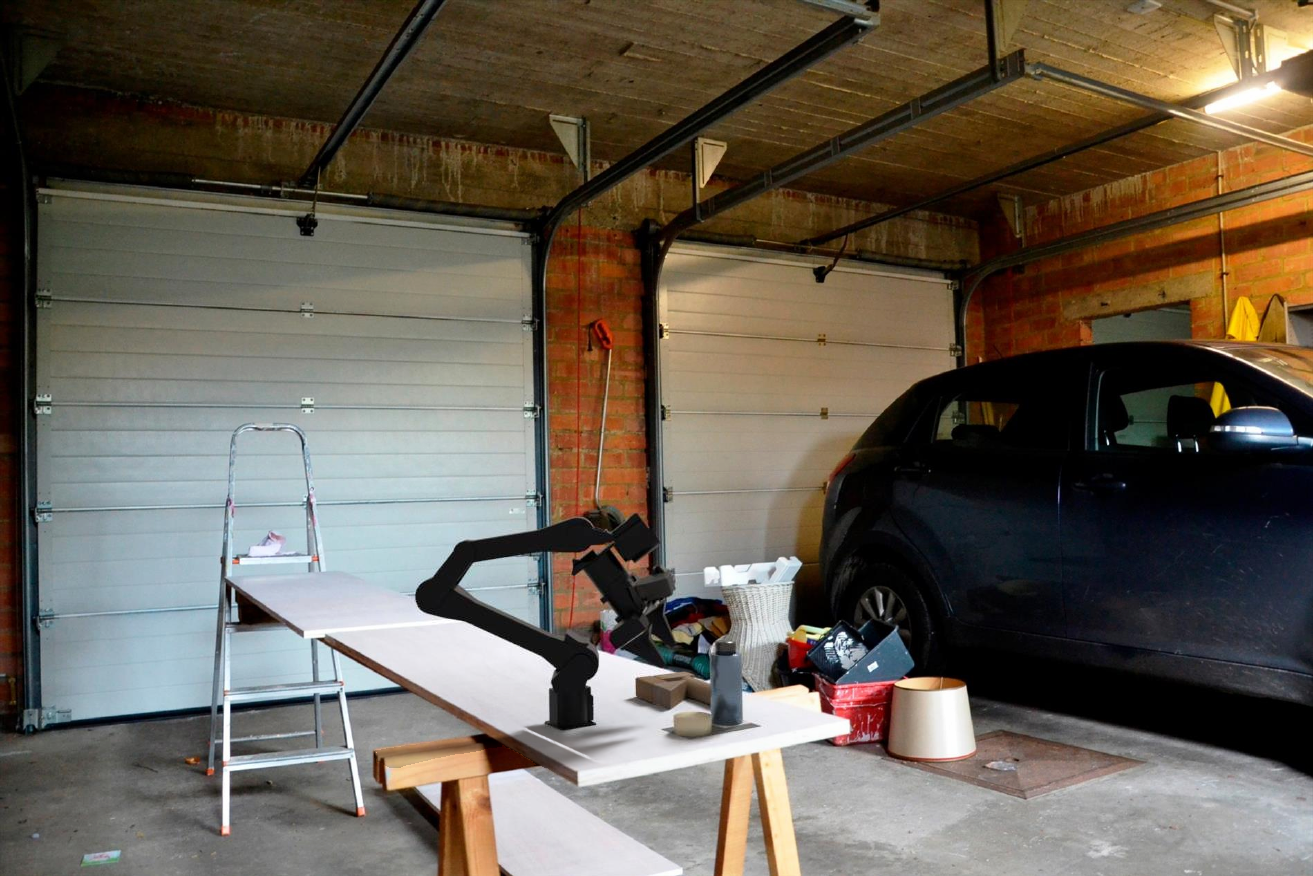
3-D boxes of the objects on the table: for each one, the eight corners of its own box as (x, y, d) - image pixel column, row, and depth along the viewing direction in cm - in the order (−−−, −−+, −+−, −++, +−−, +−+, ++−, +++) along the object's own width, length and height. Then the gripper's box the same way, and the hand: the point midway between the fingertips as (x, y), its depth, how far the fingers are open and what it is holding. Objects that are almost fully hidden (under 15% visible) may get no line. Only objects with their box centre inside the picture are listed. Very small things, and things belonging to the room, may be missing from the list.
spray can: (718, 727, 161) (717, 645, 161) (706, 720, 166) (704, 640, 166) (748, 724, 163) (746, 643, 163) (734, 717, 167) (733, 638, 168)
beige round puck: (688, 738, 154) (687, 722, 154) (666, 730, 159) (666, 715, 159) (719, 732, 158) (719, 716, 158) (697, 725, 163) (697, 709, 163)
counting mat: (689, 741, 154) (689, 738, 154) (661, 731, 161) (661, 728, 161) (761, 728, 162) (761, 725, 162) (731, 719, 168) (731, 716, 168)
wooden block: (634, 677, 187) (679, 694, 171) (685, 671, 192) (734, 687, 176) (635, 697, 187) (680, 716, 171) (685, 690, 192) (734, 708, 176)
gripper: (638, 570, 156) (698, 651, 156) (661, 539, 174) (715, 611, 174) (583, 609, 158) (643, 688, 159) (612, 574, 176) (665, 645, 177)
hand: (669, 655), depth 167 cm, fingers open, 9 cm apart
